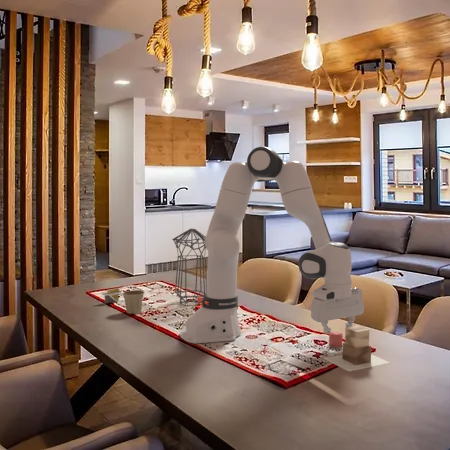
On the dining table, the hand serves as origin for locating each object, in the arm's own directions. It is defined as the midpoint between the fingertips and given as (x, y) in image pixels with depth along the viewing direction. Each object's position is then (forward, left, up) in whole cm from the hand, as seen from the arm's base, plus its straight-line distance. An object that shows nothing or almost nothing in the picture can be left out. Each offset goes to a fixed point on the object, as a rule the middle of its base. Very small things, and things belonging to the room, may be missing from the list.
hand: (338, 330), depth 166 cm
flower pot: (-50, +75, -6) cm, 90 cm away
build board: (-5, -15, -6) cm, 17 cm away
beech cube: (-5, -15, 0) cm, 16 cm away
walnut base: (-5, -15, -5) cm, 17 cm away
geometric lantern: (-21, +79, -6) cm, 82 cm away
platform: (-54, +97, -6) cm, 111 cm away
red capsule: (-1, 0, -6) cm, 6 cm away
